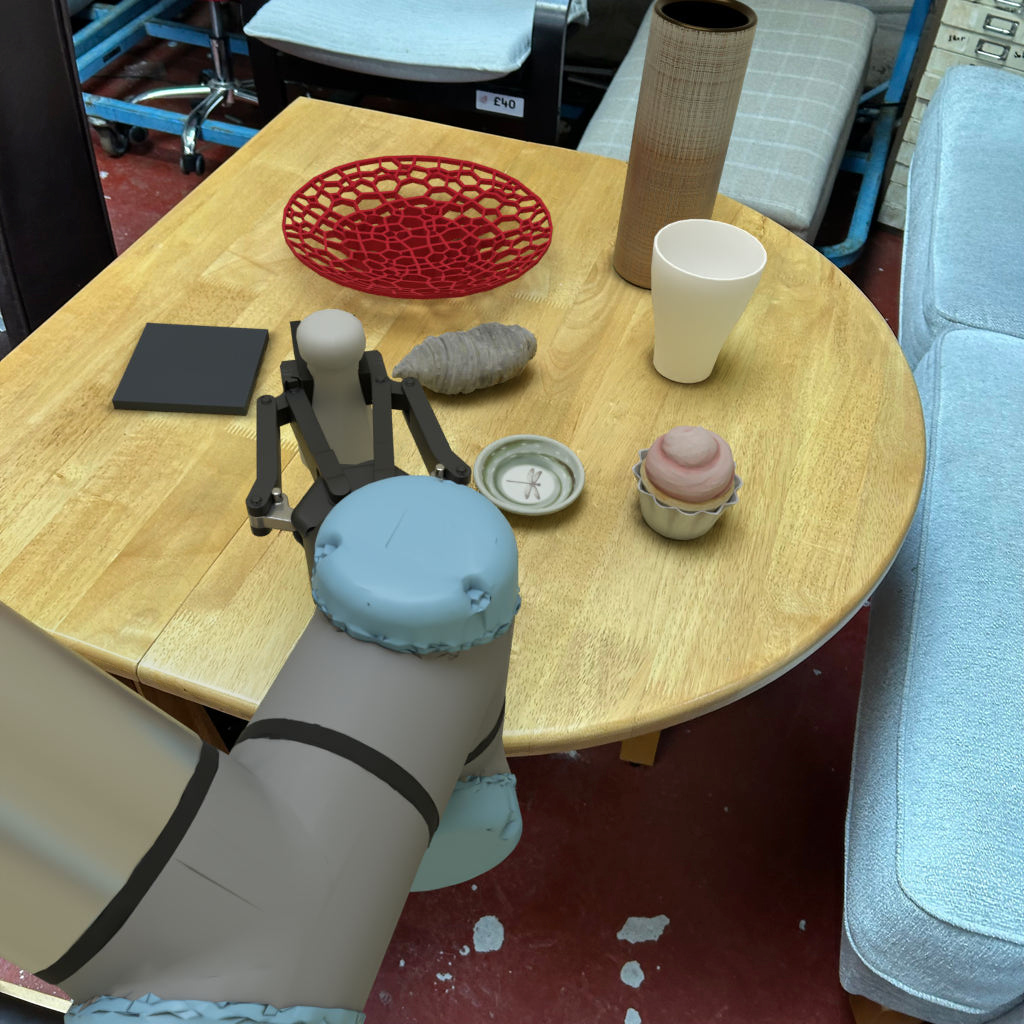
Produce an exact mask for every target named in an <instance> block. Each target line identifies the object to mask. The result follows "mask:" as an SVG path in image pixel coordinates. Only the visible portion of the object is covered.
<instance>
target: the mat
mask: <svg viewBox="0 0 1024 1024" xmlns="http://www.w3.org/2000/svg"><path fill="white" fill-rule="evenodd" d="M269 340H270V332H269V329H268V328H256V327H255V328H253V327H235V326H234V327H233V326H220V325H219V326H217V325H200V324H199V325H198V324H180V323H179V324H178V323H161V322H146V323H145V326H144V328H143V330H142V332H141V335H140V337H139V339H138V342H137V343H136V346H135V348H134V350H133V353H132V355H131V356H130V359H129V361H128V364H127V365H126V368H125V370H124V372H123V375H122V376H121V379H120V381H119V383H118V386H117V388H116V390H115V392H114V394H113V397H112V399H111V402H112V405H113V408H114V409H116V410H117V409H118V410H136V411H137V410H138V411H158V412H175V413H194V414H195V413H196V414H215V415H217V414H219V415H237V416H247V413H248V411H249V408H250V407H249V406H250V404H251V400H252V397H253V393H254V391H255V390H254V389H255V386H256V383H257V379H258V377H259V373H260V370H261V367H262V363H263V359H264V355H265V352H266V348H267V347H268V344H269V343H268V342H269Z"/></svg>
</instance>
